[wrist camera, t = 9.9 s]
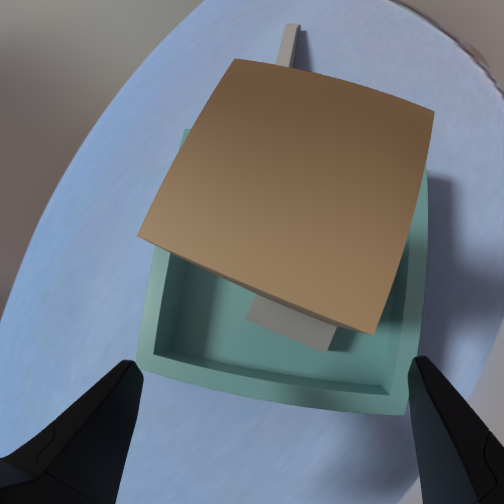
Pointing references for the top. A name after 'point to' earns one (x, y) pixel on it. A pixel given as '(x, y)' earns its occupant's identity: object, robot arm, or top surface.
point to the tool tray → (283, 337)
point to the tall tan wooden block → (296, 196)
